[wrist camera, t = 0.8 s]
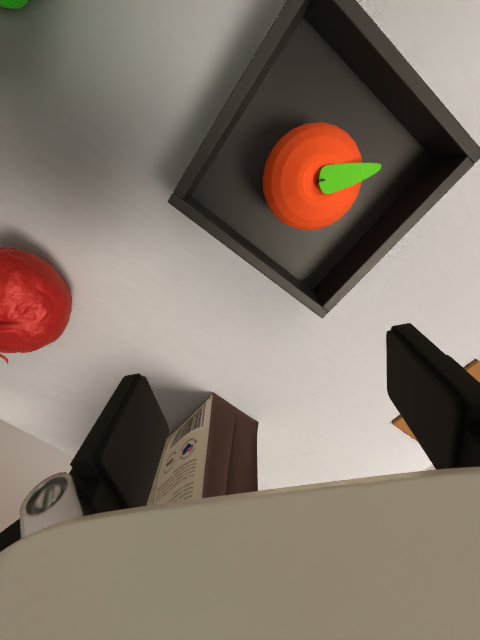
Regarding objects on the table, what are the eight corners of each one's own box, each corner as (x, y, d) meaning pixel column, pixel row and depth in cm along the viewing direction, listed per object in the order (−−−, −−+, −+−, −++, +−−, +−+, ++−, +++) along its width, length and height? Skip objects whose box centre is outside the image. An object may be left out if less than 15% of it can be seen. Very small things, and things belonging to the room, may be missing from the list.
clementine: (356, 116, 22) (402, 91, 16) (359, 211, 25) (398, 222, 19) (253, 142, 23) (256, 128, 16) (267, 231, 26) (275, 248, 19)
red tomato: (105, 293, 30) (50, 339, 21) (50, 348, 33) (-17, 407, 24) (17, 216, 26) (-89, 234, 18) (-35, 284, 29) (-146, 327, 21)
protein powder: (189, 485, 43) (110, 925, 18) (137, 458, 40) (-40, 924, 15) (264, 422, 37) (305, 940, 12) (208, 387, 35) (115, 941, 9)
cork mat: (476, 359, 32) (479, 361, 32) (506, 385, 34) (509, 387, 34) (391, 422, 37) (393, 424, 36) (421, 443, 38) (423, 445, 38)
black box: (300, 0, 20) (316, -49, 16) (442, 157, 24) (485, 153, 20) (180, 197, 25) (167, 201, 21) (311, 298, 29) (322, 318, 25)
